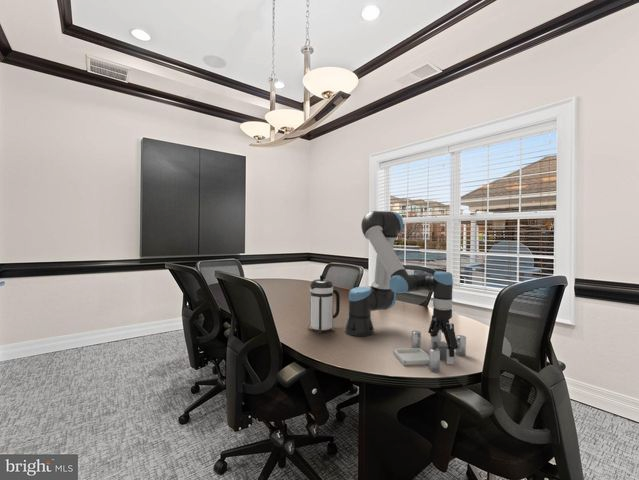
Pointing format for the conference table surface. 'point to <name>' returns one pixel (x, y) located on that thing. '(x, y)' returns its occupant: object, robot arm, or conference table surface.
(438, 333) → the cylinder
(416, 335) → the spacer
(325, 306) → the coffee press
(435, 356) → the cylinder
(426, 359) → the tray
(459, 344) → the cylinder
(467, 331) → the conference table surface
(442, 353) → the slate cube
